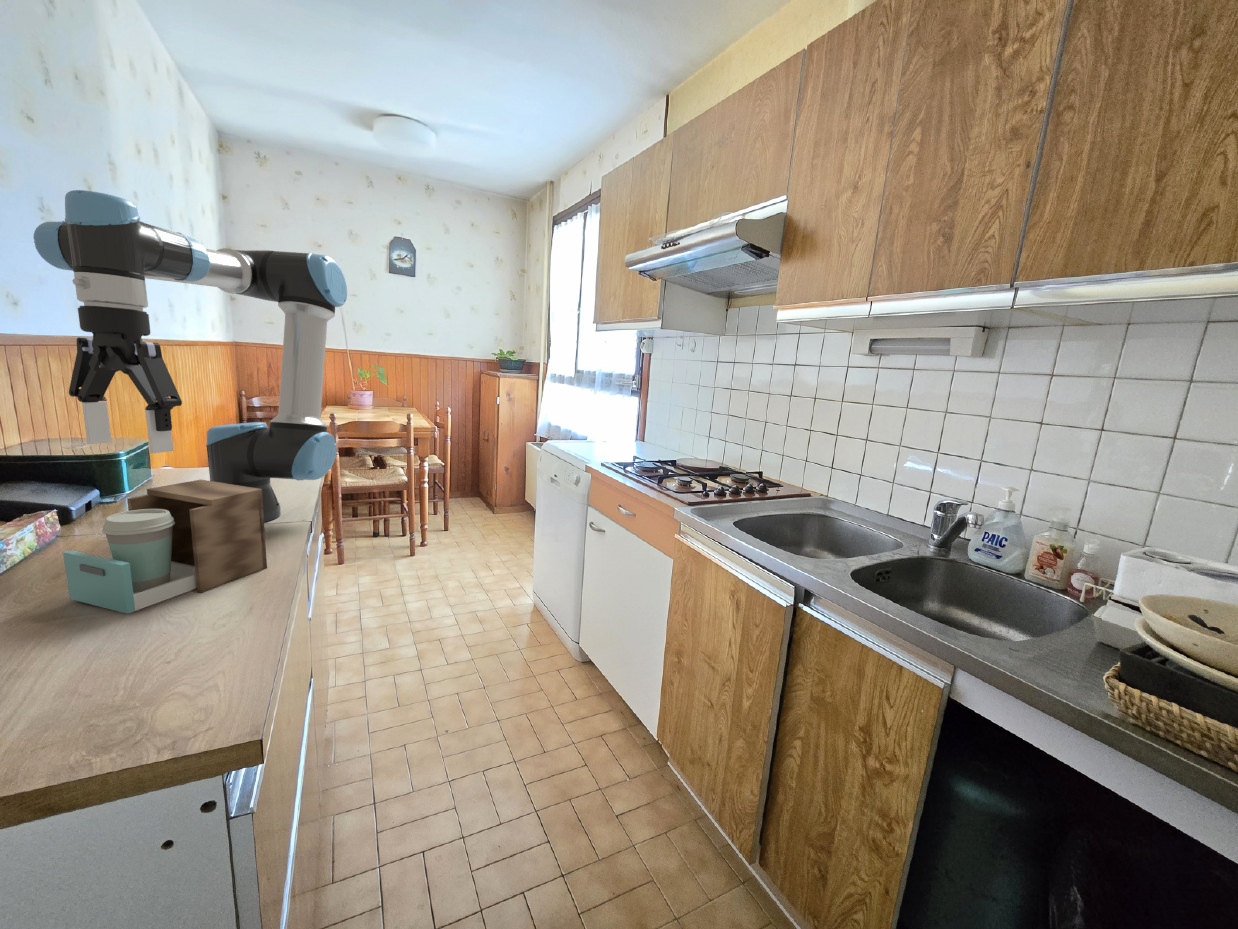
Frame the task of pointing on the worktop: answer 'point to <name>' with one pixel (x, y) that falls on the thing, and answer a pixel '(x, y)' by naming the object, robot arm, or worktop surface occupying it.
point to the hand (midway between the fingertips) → (130, 447)
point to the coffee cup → (142, 544)
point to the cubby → (212, 528)
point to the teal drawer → (119, 582)
